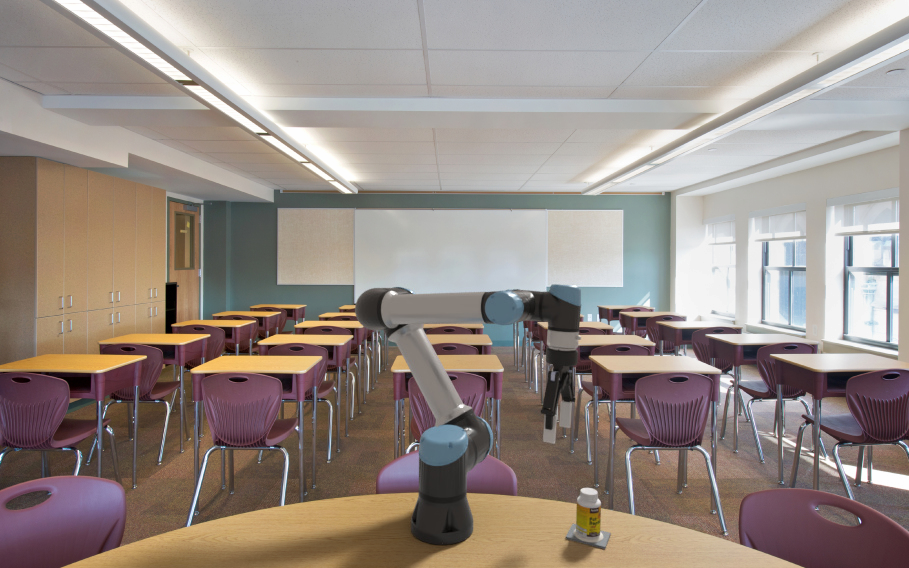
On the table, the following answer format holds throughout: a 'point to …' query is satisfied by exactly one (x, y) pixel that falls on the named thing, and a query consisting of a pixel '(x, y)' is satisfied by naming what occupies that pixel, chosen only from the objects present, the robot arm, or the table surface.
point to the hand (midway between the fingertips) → (557, 434)
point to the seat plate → (597, 542)
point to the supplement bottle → (588, 514)
